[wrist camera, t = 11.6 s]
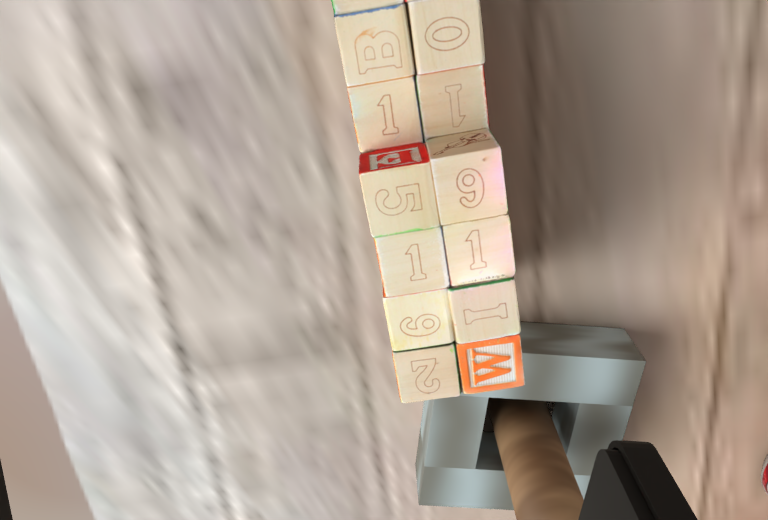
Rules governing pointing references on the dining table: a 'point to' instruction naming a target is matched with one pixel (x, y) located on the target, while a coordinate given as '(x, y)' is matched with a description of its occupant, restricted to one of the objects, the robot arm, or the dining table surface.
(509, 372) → the stack of blocks
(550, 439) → the dowel
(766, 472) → the soda can
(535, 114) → the dining table surface
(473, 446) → the block with square hole
